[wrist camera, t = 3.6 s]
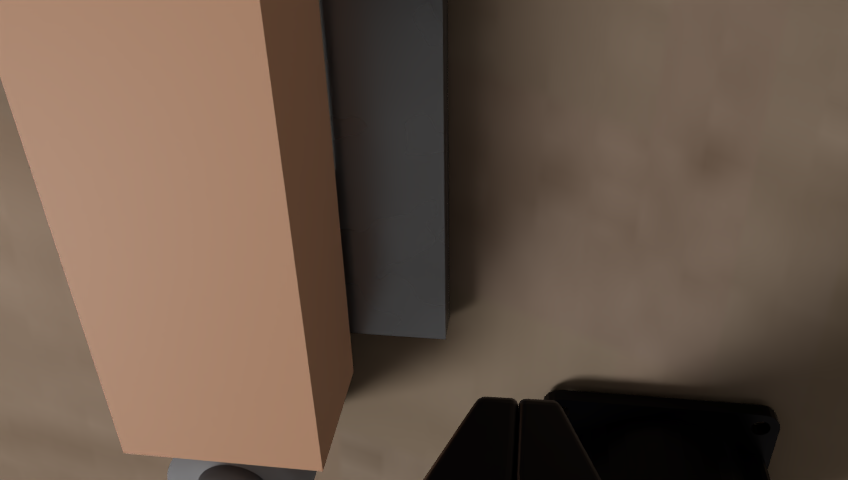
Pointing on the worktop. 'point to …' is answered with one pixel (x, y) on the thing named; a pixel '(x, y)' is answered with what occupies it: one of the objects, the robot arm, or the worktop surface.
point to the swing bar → (193, 219)
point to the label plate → (391, 160)
